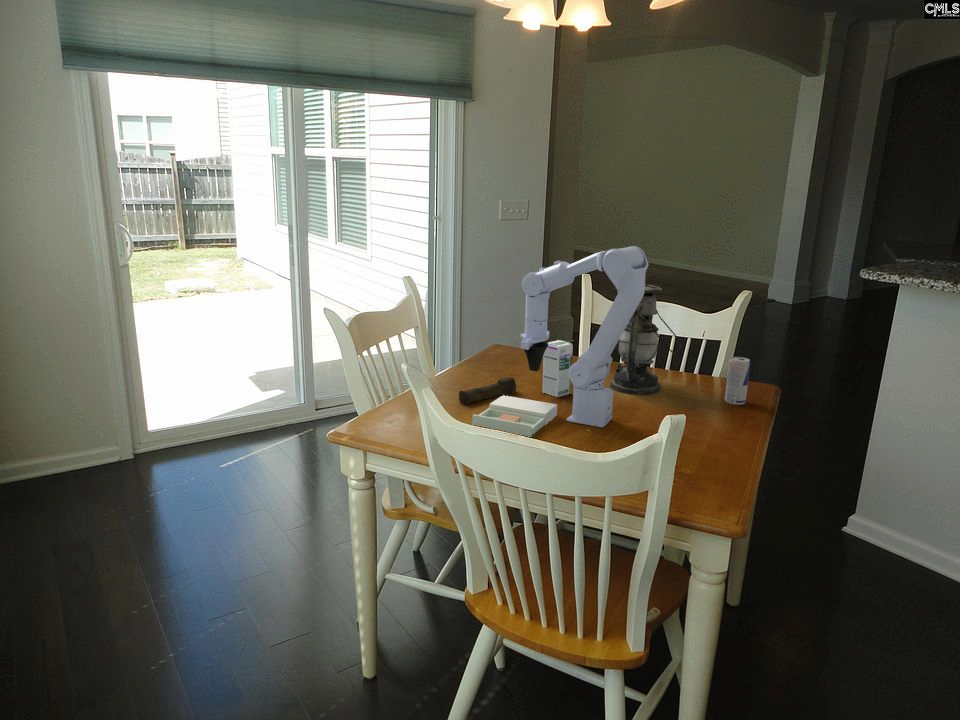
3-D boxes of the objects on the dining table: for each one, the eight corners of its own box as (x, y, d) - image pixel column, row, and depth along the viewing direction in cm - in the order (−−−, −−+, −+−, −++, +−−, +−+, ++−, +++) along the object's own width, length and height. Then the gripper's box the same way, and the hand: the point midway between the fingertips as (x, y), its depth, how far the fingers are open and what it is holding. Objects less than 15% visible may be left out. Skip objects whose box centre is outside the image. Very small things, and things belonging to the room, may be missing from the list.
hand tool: (466, 407, 183) (467, 390, 181) (457, 403, 186) (458, 386, 184) (522, 395, 194) (522, 379, 192) (512, 391, 197) (513, 375, 196)
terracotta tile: (513, 422, 165) (512, 430, 165) (520, 416, 169) (520, 424, 169) (495, 419, 167) (495, 427, 167) (503, 413, 170) (503, 421, 171)
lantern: (619, 375, 213) (626, 276, 205) (683, 384, 205) (693, 282, 197) (601, 392, 196) (608, 285, 188) (670, 402, 188) (680, 292, 180)
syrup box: (557, 398, 190) (559, 346, 187) (541, 392, 195) (543, 342, 191) (571, 394, 194) (573, 343, 190) (555, 389, 198) (557, 339, 194)
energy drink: (748, 402, 190) (754, 359, 187) (740, 406, 186) (745, 363, 183) (729, 397, 193) (734, 355, 190) (721, 402, 190) (726, 359, 186)
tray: (544, 425, 170) (545, 414, 169) (530, 438, 162) (530, 425, 161) (488, 415, 176) (489, 404, 175) (472, 426, 168) (472, 415, 168)
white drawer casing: (556, 415, 177) (557, 404, 176) (545, 425, 170) (545, 413, 169) (502, 406, 183) (502, 395, 182) (489, 415, 176) (489, 403, 176)
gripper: (532, 312, 187) (530, 361, 190) (510, 322, 174) (508, 375, 178) (557, 315, 184) (555, 365, 187) (536, 325, 171) (534, 379, 175)
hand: (534, 370), depth 182 cm, fingers closed
